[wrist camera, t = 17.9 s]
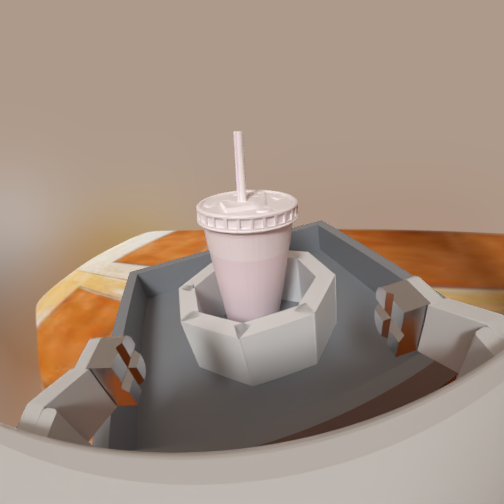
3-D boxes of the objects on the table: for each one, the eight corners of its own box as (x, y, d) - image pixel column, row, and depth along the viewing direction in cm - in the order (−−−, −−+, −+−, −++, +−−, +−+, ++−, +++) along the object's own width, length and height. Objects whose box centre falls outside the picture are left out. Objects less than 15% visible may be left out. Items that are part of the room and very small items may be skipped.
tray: (324, 251, 33) (320, 210, 31) (464, 368, 13) (487, 307, 11) (142, 303, 29) (126, 262, 27) (131, 495, 10) (75, 457, 8)
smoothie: (196, 335, 20) (165, 138, 14) (238, 293, 25) (226, 131, 19) (274, 363, 17) (270, 130, 11) (306, 310, 22) (311, 129, 16)
